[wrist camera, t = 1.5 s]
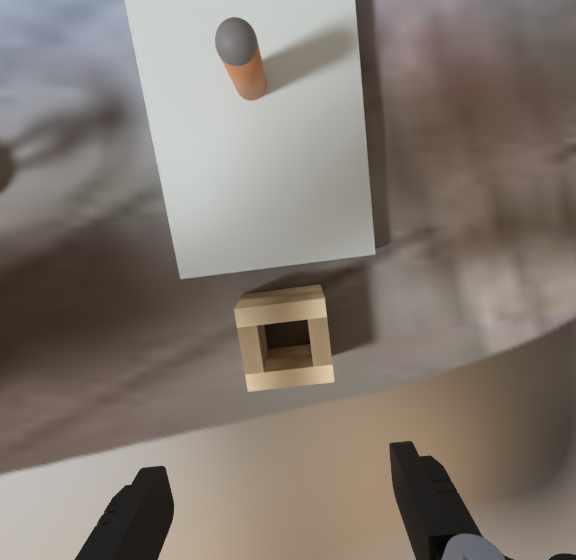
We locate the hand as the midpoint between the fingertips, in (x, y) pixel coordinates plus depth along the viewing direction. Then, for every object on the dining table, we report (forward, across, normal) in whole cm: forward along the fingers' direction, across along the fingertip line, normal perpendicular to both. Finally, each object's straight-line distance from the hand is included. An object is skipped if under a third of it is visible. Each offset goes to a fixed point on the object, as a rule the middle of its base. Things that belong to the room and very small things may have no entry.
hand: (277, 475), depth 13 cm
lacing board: (+16, 0, -14) cm, 21 cm away
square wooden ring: (+16, 0, 0) cm, 16 cm away
